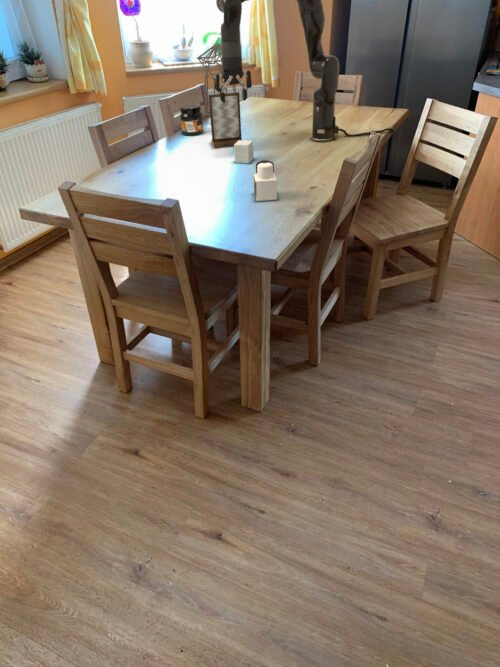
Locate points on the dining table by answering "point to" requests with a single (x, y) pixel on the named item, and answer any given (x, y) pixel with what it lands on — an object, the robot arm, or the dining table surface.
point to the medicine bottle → (265, 181)
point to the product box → (243, 151)
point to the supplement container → (191, 119)
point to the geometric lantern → (214, 48)
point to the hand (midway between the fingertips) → (234, 101)
